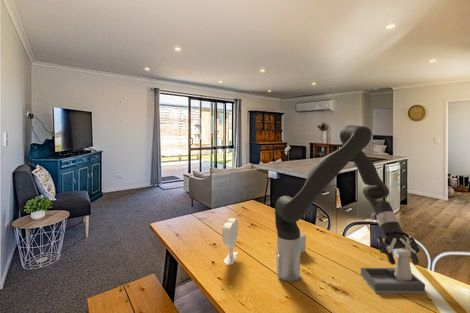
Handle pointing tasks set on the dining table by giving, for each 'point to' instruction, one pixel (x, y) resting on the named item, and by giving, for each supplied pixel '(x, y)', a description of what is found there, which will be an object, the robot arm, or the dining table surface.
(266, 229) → the dining table surface
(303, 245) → the medicine box
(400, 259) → the salt shaker
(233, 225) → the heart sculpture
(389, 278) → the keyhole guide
